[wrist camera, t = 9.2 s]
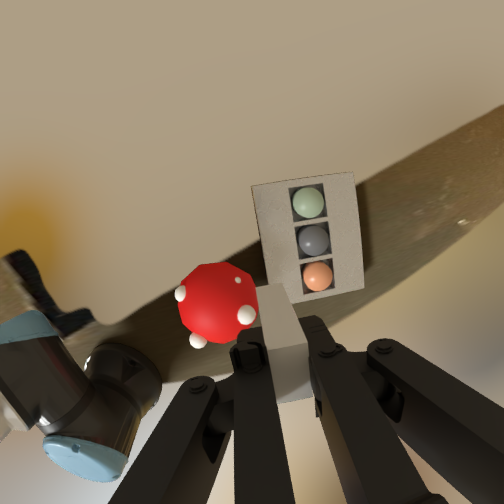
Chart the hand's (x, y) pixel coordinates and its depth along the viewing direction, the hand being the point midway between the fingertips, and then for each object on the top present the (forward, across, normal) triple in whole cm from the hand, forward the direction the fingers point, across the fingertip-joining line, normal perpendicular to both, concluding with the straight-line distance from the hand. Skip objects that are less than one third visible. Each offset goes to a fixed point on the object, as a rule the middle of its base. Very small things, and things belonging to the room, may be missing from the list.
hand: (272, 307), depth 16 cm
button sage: (+24, +8, +3) cm, 26 cm away
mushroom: (+27, -6, -7) cm, 28 cm away
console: (+26, +8, -2) cm, 28 cm away
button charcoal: (+25, +8, -2) cm, 26 cm away
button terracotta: (+25, +8, -7) cm, 27 cm away
